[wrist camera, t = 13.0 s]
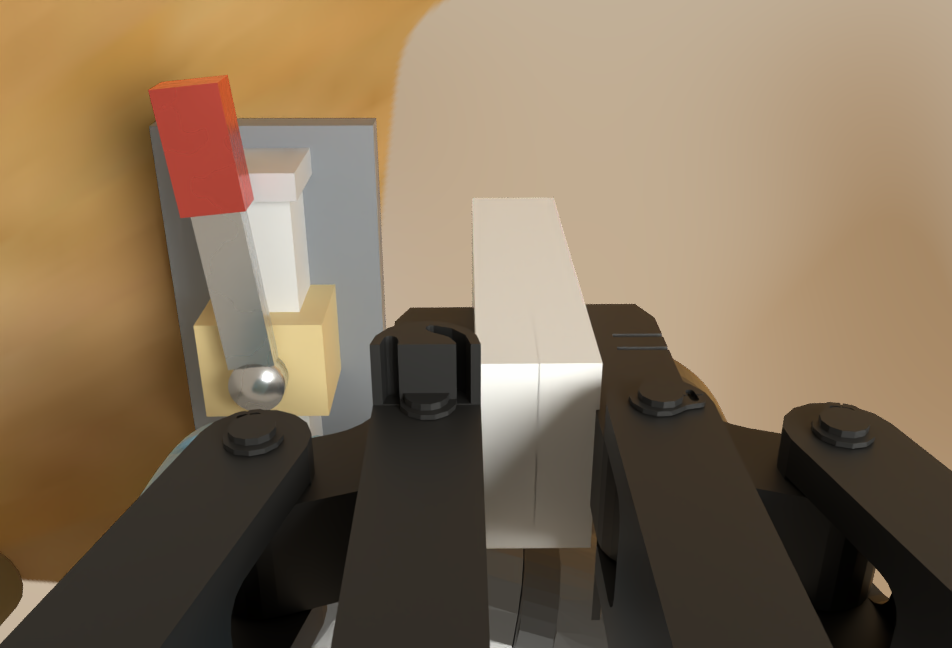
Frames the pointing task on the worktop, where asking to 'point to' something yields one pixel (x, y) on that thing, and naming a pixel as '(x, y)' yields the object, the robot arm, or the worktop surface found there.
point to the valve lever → (221, 228)
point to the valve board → (329, 248)
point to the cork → (9, 588)
